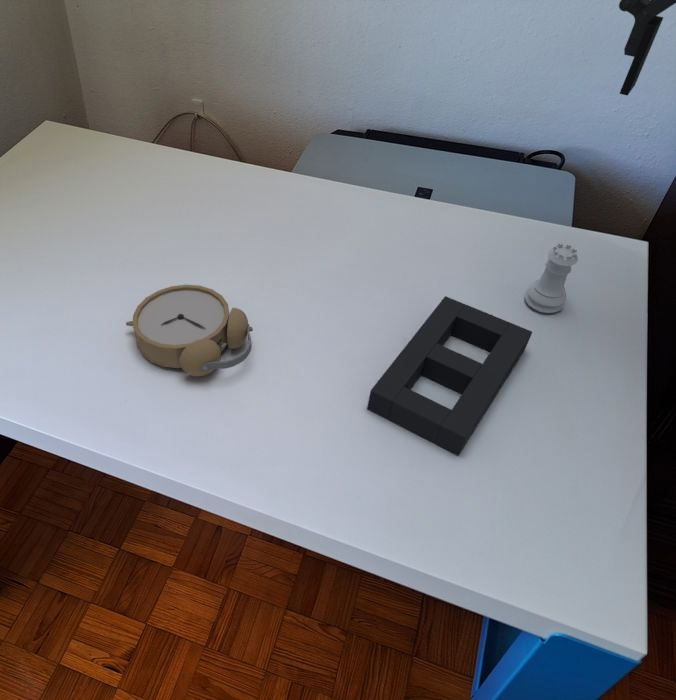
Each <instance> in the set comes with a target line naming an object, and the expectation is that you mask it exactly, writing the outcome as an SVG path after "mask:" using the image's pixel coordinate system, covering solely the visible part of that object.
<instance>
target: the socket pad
mask: <svg viewBox="0 0 676 700" xmlns="http://www.w3.org/2000/svg"><path fill="white" fill-rule="evenodd" d="M532 334H533V331H532V330H529V329H527V328H525V327H523V326H520V325H517V324H515V323H513V322H510V321H507V320H505V319H502V318H500V317H497V316H496V315H493V314H491V313H487V312H485V311H483V310H482V309H481V310H480V309H478V308H476V307H473V306H472V305H468V304H466V303H463V302H461V301H458V300H456V299H454V298H451V297H449V296H446V295H445V296H443V298H442V299H441V301H440V302H439V304H437V306H436V307H435V308H434V310H433V311H432V312H431V314H430V315H429V316H428V317H427V318H426V320H425V321H424V322H423V323H422V324H421V326H420V328H419V329H418V330H417V331H416V332H415V334H414V335H413V336H412V337H411V339H410V340H409V341H408V342H407V344H406V345H405V346H404V348H403V349H402V350H401V351H400V352H399V354H398V355H397V356H396V357H395V359H394V360H393V361H392V363H391V364H390V365H389V367H388V368H387V369H386V370H385V371H384V373H383V374H382V376H381V377H380V378H379V379H378V380H377V382H376V383H375V384H374V386H373V387H372V388H371V389H370V392H369V396H368V401H367V406H366V409H367V410H369V411H371V412H373V413H374V414H377V415H378V416H380V417H381V418H384V419H386V420H388V421H390V422H391V423H394V424H396V425H398V426H399V427H402V428H404V429H405V430H407V431H409V432H411V433H413V434H415V435H417V436H419V437H421V438H423V439H424V440H427V441H428V442H431V443H433V444H434V445H436V446H437V447H440V448H442V449H444V450H446V451H448V452H450V453H452V454H454V455H456V456H460V454H461V453H462V451H463V450H464V448H465V446H466V445H467V443H468V441H469V440H470V439H471V437H472V435H473V433H474V432H475V431H476V429H477V427H478V426H479V424H480V422H481V421H482V419H483V418H484V416H485V415H486V413H487V411H488V410H489V408H490V407H491V405H492V404H493V402H494V400H495V398H496V397H497V396H498V394H499V392H500V391H501V389H502V387H503V386H504V384H505V382H506V381H507V379H508V378H509V376H510V375H511V373H512V371H513V370H514V369H515V367H516V365H517V364H518V362H519V361H520V359H521V357H522V355H523V354H524V352H525V351H526V349H527V347H528V343H529V342H530V339H531V336H532ZM451 336H453V337H455V338H457V339H460V340H462V341H464V342H466V343H468V344H470V345H473V346H475V347H477V348H480V349H482V350H484V351H487V352H489V353H488V355H487V356H486V358H485V359H484V361H483V362H480V361H478V360H475V359H473V358H471V357H468V356H466V355H464V354H462V353H459V352H457V351H455V350H453V349H450V348H448V347H446V346H444V345H445V344H446V342H447V340H449V338H450V337H451ZM421 376H422V377H425V378H426V379H429V380H430V381H433V382H436V383H437V384H439V385H442V386H444V387H446V388H448V389H450V390H452V391H454V392H456V393H459V394H461V396H460V397H459V398H458V400H457V401H456V403H455V404H454V406H453V407H452V408H449V407H447V406H445V405H443V404H440V402H439V403H438V402H437V401H434V400H432V399H431V398H428V397H426V396H424V395H422V394H420V393H419V392H416V391H414V390H412V388H413V387H414V385H415V384H416V383H417V381H418V380H419V379H420V377H421Z"/></svg>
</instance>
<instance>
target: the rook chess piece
mask: <svg viewBox="0 0 676 700" xmlns="http://www.w3.org/2000/svg"><path fill="white" fill-rule="evenodd" d="M547 258H548V260H547V261H546V262H545V269H544V271H543V273H541V276H540V277H539V278H538V279H536V280H535V281H534V282H533V283H531V284H530V285H529V287H528V288H527V291H526V293H525V294H524V300H525V301H526V304H527V305H528V307H530V308H531V309H532V310H534V311H536V312H538V313H541V314H554V313H556V312H559V311H561V310H562V309H563V308H564V307H565V302H566V301H567V292H566V287H565V285H566V281H567V277H568V275H569V274H570V273H571V272H572V266H574V265H576V264H577V263H578V262H579V257H578V249H577V248H576V247H573V248H572V244H570V243H566V246H564V243H563V242H559V243H558V244H557V245H556V244H555V245H553V248H551V249H549V250H548V251H547Z"/></svg>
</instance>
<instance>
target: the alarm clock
mask: <svg viewBox="0 0 676 700" xmlns="http://www.w3.org/2000/svg"><path fill="white" fill-rule="evenodd" d="M125 325H126V326H128V327H132V328H133V331H134V334H135V340H136V345H137V348H138V349H139V352H140V354H141V355H142V356H143V357H144V358H145V359H147V360H148V361H149V362H151V363H153V364H156V365H158V366H160V367H166V368H175V369H182V370H183V371H184V372H185V373H186V374H187V375H189V376H192V377H204V376H207V375H209V374H211V373H212V372H213V371H215V370H223V369H229V368H232V367H236V366H237V365H240V364H241V363H242V362H244V361H245V360H246V359H247V358H248V356H250V353H251V352H252V347H253V345H252V336H251V332H253V330H254V328H253V327H252V326H250V323H249V320H248V317H247V315H246V313H245V312H244V311H243V310H242V309H240V308H237V307H232V308H231V309H230V307H229V303H228V302H227V301H226V299H225V298H224V296H223V295H222V294H220V293H218V292H217V291H216V290H214V289H213V288H209V287H206V286H204V285H203V286H202V285H199V284H198V285H197V284H179V285H172V286H169V287H166V288H162V289H159V290H156V291H155V292H153V293H151V294H150V295H148V296H146V297H145V298H144V299H143V300H142V301H141V302H140V303H139V304H137V306H136V308H135V311H134V312H133V314H132V320H130V321H126V322H125ZM246 340H248V344H247V345H246V347H245V349H244V350H243V351H242V352H241V353H239V354H238V355H237V356H235V357H233V358H231V359H230V358H229V359H227V360H221V356H222V355H221V353H222V352H223V351H224V350H225V348H226V347H228V349H238V348H240V347H242V345H244V343H245V342H246Z"/></svg>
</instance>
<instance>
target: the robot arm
mask: <svg viewBox="0 0 676 700" xmlns="http://www.w3.org/2000/svg"><path fill="white" fill-rule="evenodd" d="M674 5H676V0H620V1H619V3H618V9H619V11H622V12H627V13H628V14H630V15H631V16H633V18H634V24H633V26H632V29H631V31H630V33H629V36H628V39H627V41H626V43H625V46H624V48H623V49H624V51H623V53H624V56H627V57H633V59H632V62H631V64H630V66H629V69H628V72H627V73H626V76H625V79H624V81H623V84H622V86H621V87H620V91H619V95H623V96H626V97H627V96H629V94H630V93H631V91H633V89H634V87H635V86H636V84H637V82H638V79H639V77H640V74H641V72H642V70H643V67H644V65H645V62H646V60H647V57H648V55H649V53H650V51H651V48H652V45H653V44H654V41H655V38H656V36H657V34H658V31H659V29H660V27H661V24H662V22H663V20H664V16H658V15H660V14H662V13H663V12H665V11H666V10H668V9H669V8H671V7H672V6H674Z"/></svg>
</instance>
